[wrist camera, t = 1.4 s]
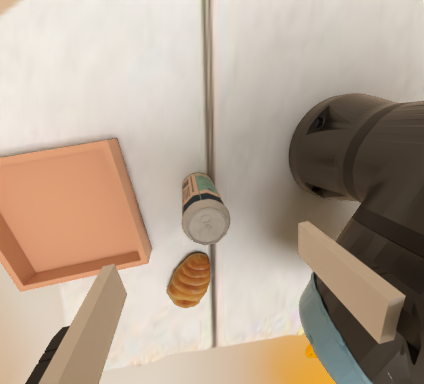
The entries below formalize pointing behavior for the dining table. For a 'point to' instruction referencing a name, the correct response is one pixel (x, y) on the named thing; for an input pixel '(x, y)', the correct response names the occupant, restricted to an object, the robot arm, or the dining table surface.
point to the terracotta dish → (68, 215)
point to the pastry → (190, 281)
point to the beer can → (203, 210)
